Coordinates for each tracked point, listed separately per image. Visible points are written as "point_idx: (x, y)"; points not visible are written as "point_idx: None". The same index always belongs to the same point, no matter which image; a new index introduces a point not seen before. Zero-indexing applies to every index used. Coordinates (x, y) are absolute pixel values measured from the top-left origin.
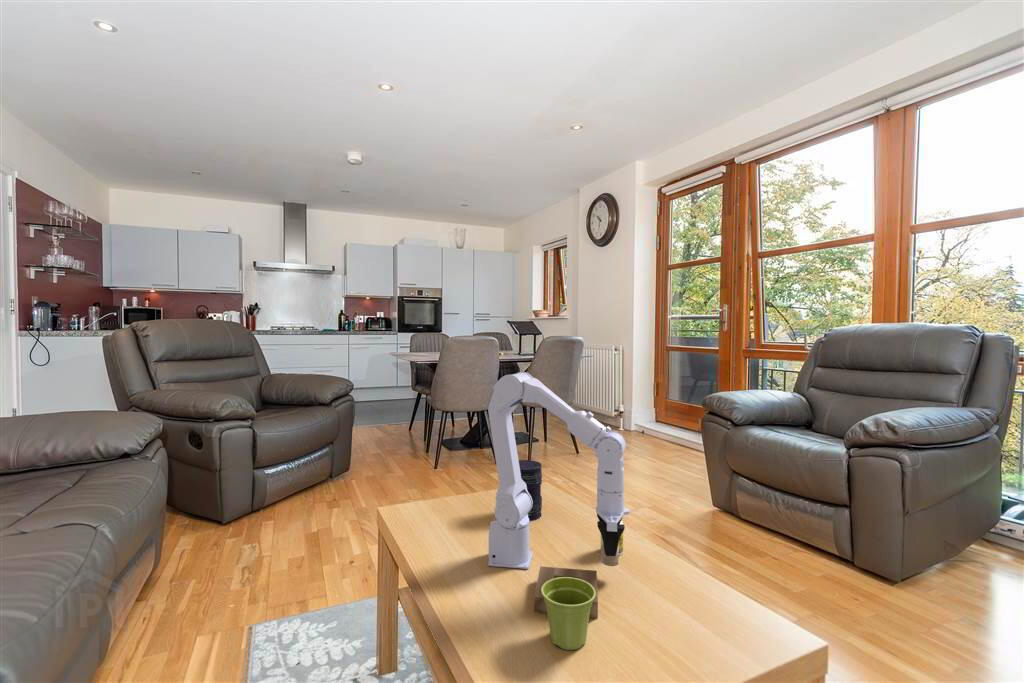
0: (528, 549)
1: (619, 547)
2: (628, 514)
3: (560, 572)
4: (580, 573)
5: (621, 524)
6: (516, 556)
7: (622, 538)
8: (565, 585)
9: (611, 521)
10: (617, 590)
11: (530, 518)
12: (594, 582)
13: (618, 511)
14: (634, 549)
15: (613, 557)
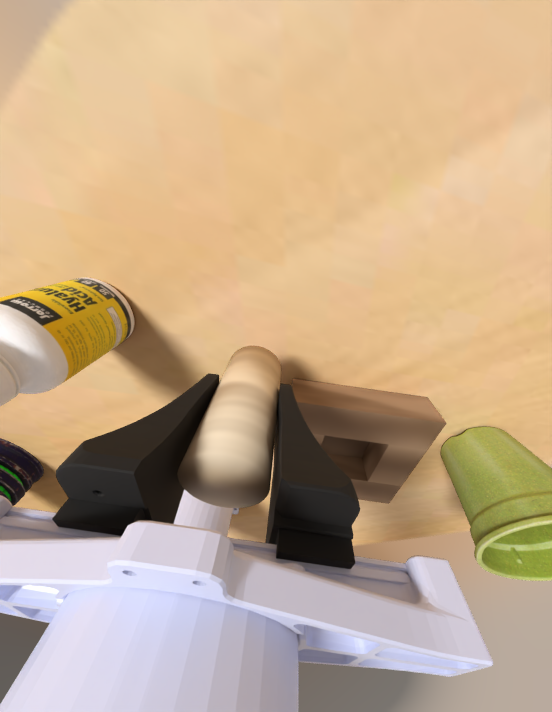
0: None
1: (104, 302)
2: (227, 538)
3: None
4: None
5: (290, 498)
6: None
7: (62, 296)
8: (478, 527)
9: (455, 669)
10: (320, 337)
11: (23, 458)
12: (353, 415)
13: (285, 661)
14: (48, 227)
15: (279, 381)
